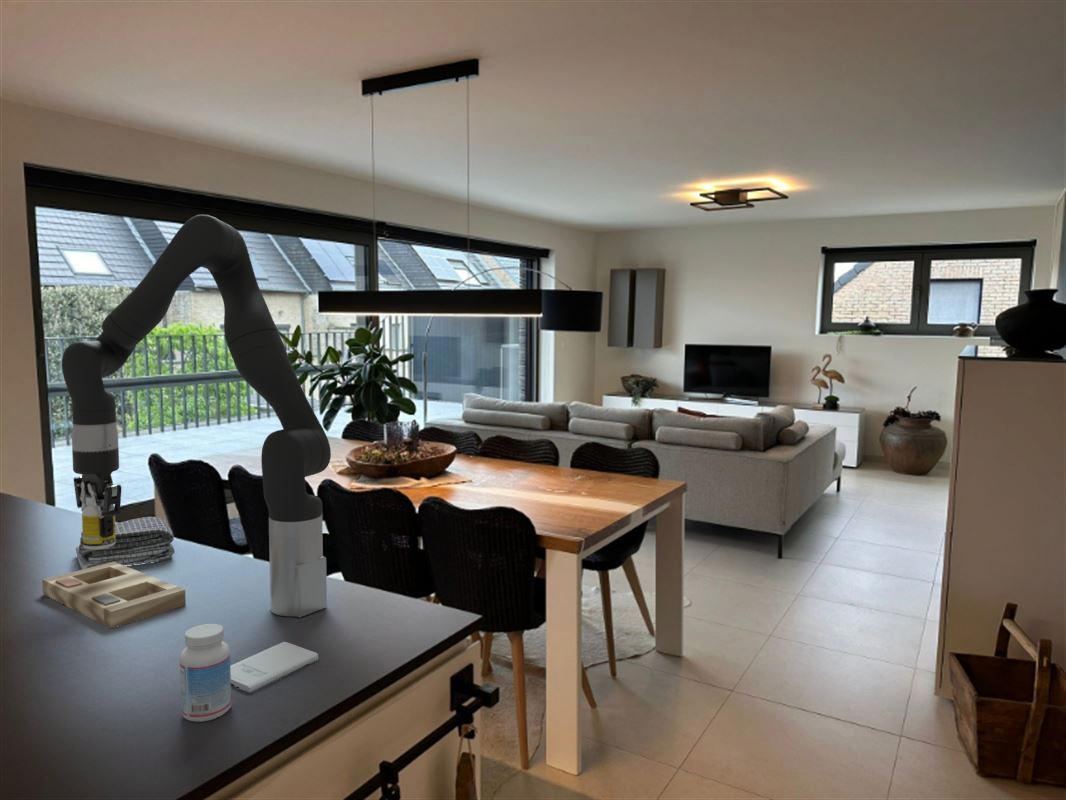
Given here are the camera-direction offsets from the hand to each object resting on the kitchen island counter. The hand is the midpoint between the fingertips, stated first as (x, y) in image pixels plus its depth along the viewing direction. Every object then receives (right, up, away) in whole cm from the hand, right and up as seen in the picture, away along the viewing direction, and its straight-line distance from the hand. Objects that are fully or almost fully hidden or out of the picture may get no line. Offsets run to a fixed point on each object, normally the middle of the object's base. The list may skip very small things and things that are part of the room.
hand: (98, 533), depth 138 cm
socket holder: (+5, -12, -4) cm, 13 cm away
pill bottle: (+40, -16, -42) cm, 60 cm away
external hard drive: (+43, -16, -29) cm, 54 cm away
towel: (-7, -10, +21) cm, 24 cm away
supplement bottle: (0, -3, 0) cm, 3 cm away
